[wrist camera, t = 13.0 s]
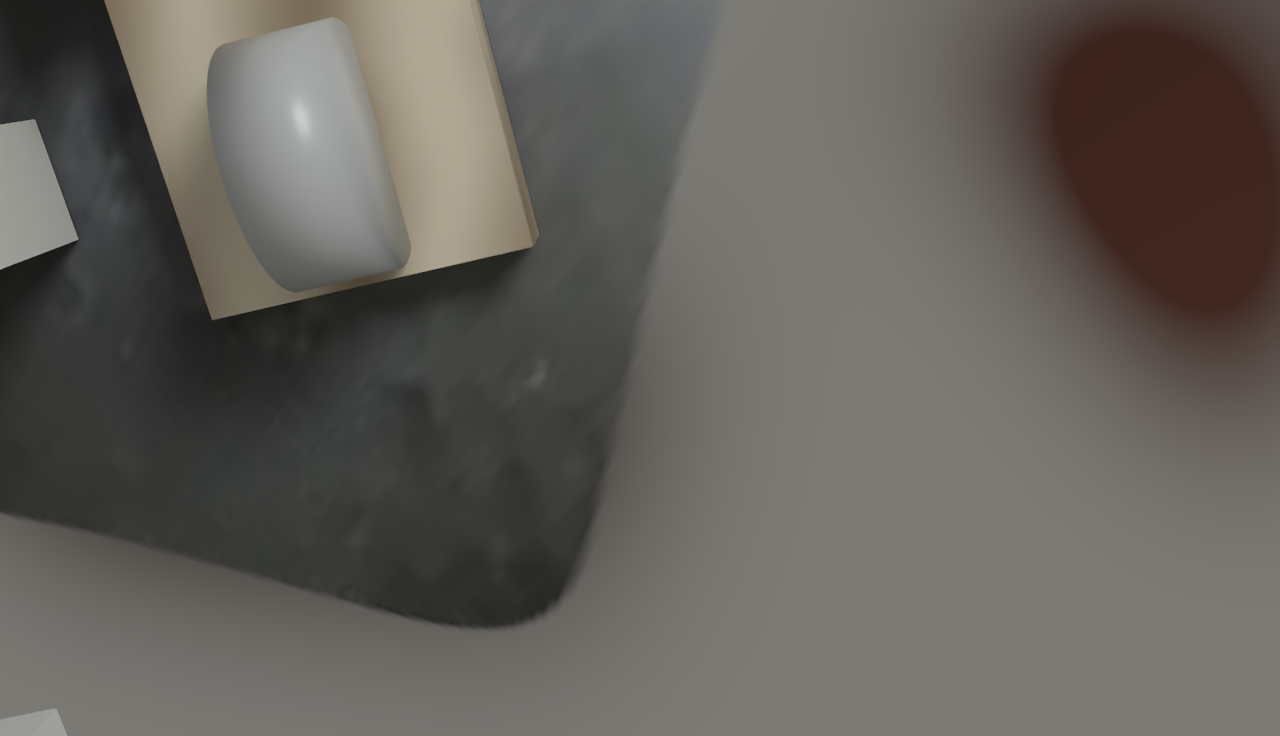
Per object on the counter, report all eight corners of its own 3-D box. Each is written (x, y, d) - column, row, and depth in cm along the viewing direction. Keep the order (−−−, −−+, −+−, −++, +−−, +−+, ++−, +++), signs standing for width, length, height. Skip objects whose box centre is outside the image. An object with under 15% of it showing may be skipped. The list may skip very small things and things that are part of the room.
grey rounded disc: (334, 265, 38) (266, 318, 32) (266, 40, 36) (178, 45, 30) (426, 244, 38) (378, 292, 31) (362, 17, 36) (295, 16, 29)
